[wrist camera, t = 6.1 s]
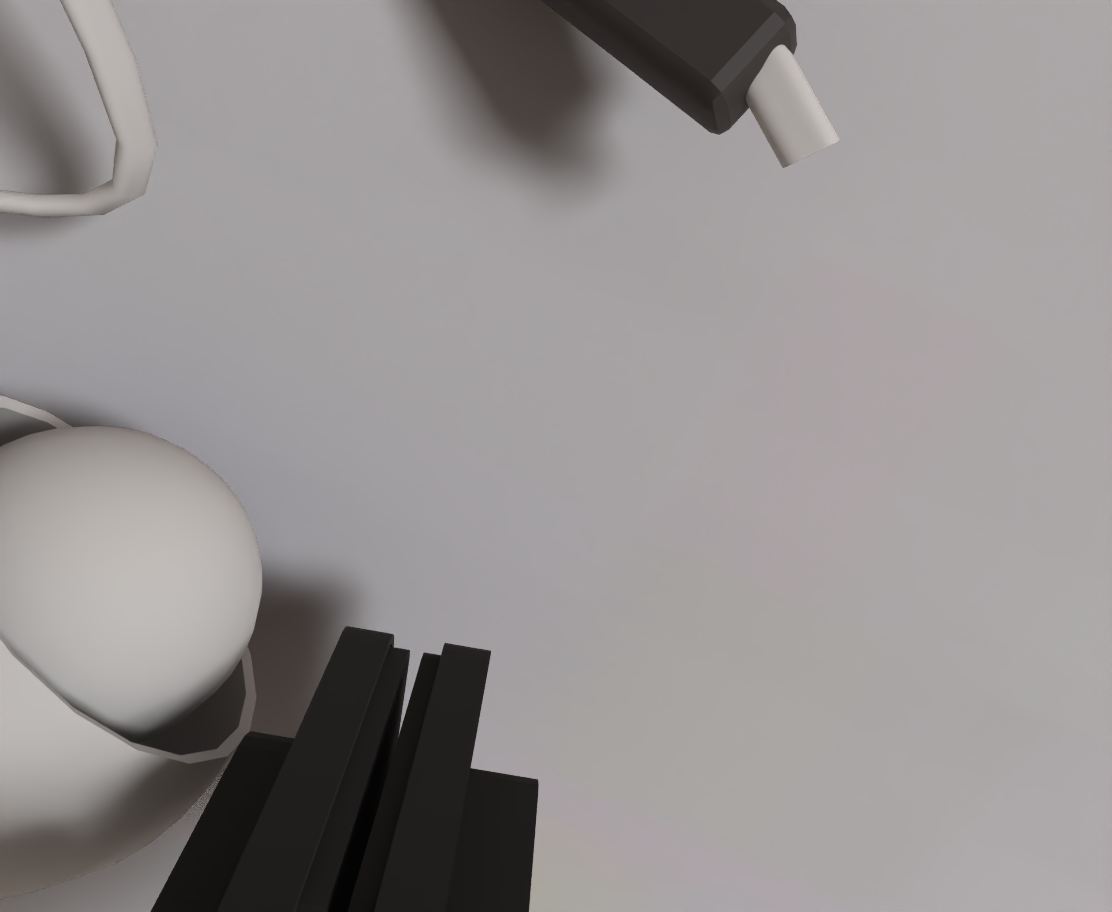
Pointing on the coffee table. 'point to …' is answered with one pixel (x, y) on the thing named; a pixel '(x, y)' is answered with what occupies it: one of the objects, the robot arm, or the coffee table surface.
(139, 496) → the clip-on lamp
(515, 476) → the coffee table surface
